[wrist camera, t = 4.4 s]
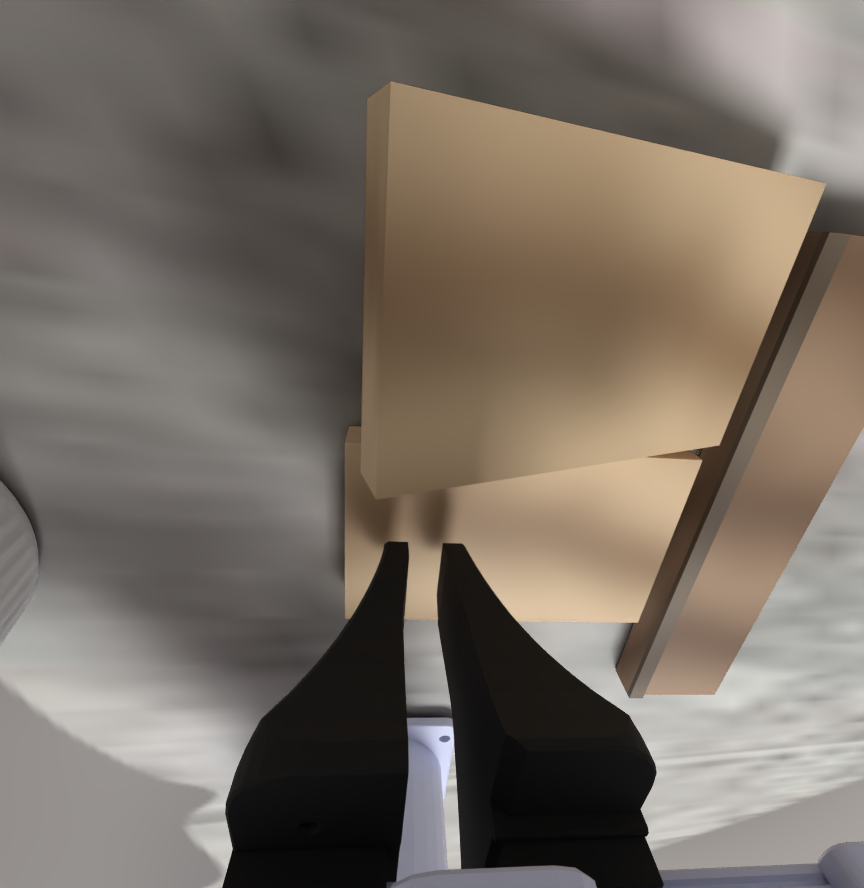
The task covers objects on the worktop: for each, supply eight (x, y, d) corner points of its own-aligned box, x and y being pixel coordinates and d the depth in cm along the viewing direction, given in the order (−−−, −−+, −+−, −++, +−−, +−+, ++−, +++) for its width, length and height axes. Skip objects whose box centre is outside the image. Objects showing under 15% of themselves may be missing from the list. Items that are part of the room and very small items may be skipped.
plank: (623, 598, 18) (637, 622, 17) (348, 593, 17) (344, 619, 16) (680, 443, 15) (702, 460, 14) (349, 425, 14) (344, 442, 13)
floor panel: (697, 669, 20) (716, 697, 19) (615, 669, 20) (629, 698, 19) (915, 245, 13) (970, 246, 11) (787, 231, 12) (829, 232, 11)
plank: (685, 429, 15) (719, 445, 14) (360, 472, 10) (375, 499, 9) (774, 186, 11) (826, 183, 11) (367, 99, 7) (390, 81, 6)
